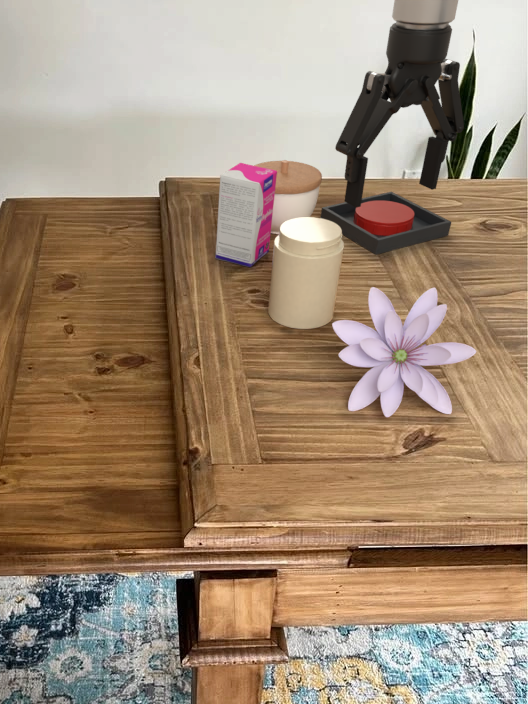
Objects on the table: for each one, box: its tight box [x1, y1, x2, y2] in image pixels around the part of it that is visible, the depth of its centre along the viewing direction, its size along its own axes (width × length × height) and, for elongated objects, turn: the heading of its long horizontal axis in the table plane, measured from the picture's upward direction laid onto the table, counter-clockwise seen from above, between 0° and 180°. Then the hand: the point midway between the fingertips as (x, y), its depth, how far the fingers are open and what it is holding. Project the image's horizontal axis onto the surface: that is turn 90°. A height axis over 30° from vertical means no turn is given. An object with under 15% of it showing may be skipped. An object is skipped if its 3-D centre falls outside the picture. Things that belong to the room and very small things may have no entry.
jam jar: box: [267, 216, 345, 330], centre depth 87 cm, size 8×8×11 cm
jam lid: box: [353, 201, 414, 236], centre depth 107 cm, size 8×8×2 cm
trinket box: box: [253, 159, 323, 235], centre depth 106 cm, size 11×11×9 cm
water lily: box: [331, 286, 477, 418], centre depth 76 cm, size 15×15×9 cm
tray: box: [320, 191, 452, 255], centre depth 108 cm, size 13×13×2 cm
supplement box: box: [214, 162, 277, 268], centre depth 98 cm, size 6×6×12 cm
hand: (390, 195), depth 105 cm, fingers open, 13 cm apart
